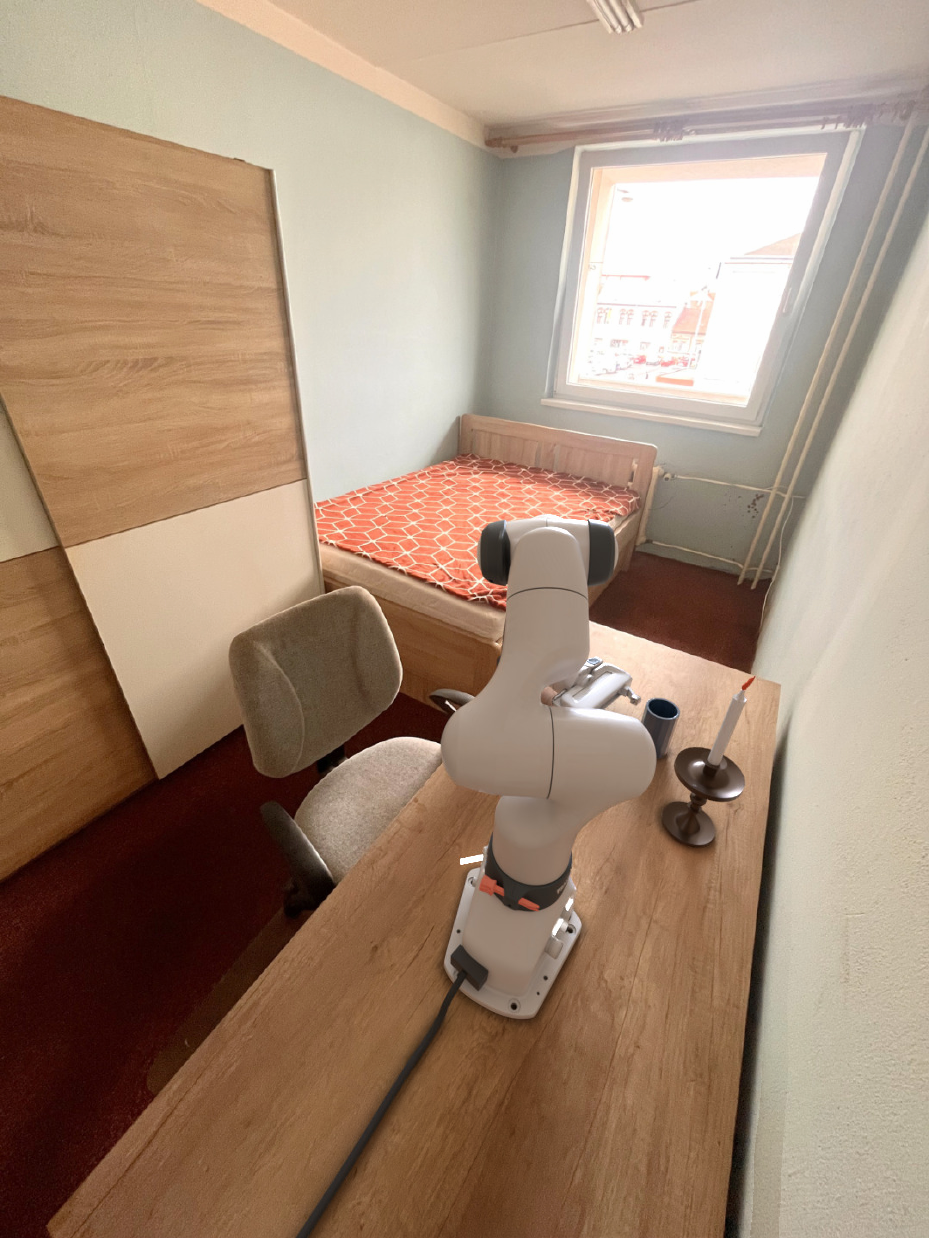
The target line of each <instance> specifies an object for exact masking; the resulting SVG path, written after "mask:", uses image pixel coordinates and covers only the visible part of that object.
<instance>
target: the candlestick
mask: <svg viewBox="0 0 929 1238" xmlns="http://www.w3.org/2000/svg"><path fill="white" fill-rule="evenodd" d="M755 679H756V675H753V677H749V678H748V680H747V681H746V682H744V683H743V684H742V685H741V689H740V691H739V692H738V693H734V694H733V695H732V698H731V700H730V702H729V705H728V708H727V710H726V712H725V715H724V717H723V720H722V721H721V725H720V728H719V729H718V732H717V735H716V737H715V740H714V742H713V744H712V747H711V748H708V747H702V746H692V747H691V746H690V747H687V748H684V749H681V750H680V751H679V752H678V754H677V755H676V756H675V760H674V762H673V763H674V764H673V770H674V773H675V776H676V778H677V779H678V781H679V782H680V783H681V784H682V785H683V787H684V788H685V789H687V790H688V791H689V792H690V794H689V799H690V801H688V802H687V801H678V800H677V801H673V802H670V803H668V804H666V805H665V806H664V807H663V809H662V812H661V814H660V815H661V816H660V820H661V825H662V828H663V829H664V831H665V833H666V834H667V835H668V836H669V837H670V838H671V839H672V840H674V841H676V842H677V843H679V844H680V845H682V846H684V847H686V848H687V847H688V848H691V849H692V848H693V849H701V848H705V847H708V846H709V845H710V844H711V843H712V842H713V840H714V838H715V836H716V828H715V827H716V826H715V824H714V822H713V820H712V819H711V817H710V816H709V815H708V813H706V812H705V811H704V810H703V808H702V807H703V806H705V805H707V802H708V801H711V802H714V803H715V802H716V803H728V802H729V803H730V802H732V801H735V800H736V799H738V798H739V797H740V796H741V795H742V794H743V791H744V789H745V786H746V779H745V776H744V773H743V771H742V770H741V769H740V767H739V766H738V765H737V764H736V763H735V762H734V761H733V760H732V759H731V758H729V757H728V756H727V755H725V752H726V750H727V747H728V745H729V743H730V740H731V738H732V736H733V734H734V732H735V729H736V727H737V725H738V722H739V719H740V717H741V715H742V712H743V710H744V708H745V705H746V704H747V701H748V699H747V697H746V695H745V693H746V690H747V689H748V688H749V687H750V686H751V684H753V682H754V681H755Z"/></svg>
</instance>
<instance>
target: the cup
mask: <svg viewBox="0 0 929 1238" xmlns="http://www.w3.org/2000/svg"><path fill="white" fill-rule="evenodd" d="M680 716H681V710H680V707H678V705H677V704H676V703H674V702H673V701H671V700H669V699H666V698H664V697H652V698H649V699H648V700H647V701H646V702H645V706H644V709H643V713H642V716H641V720H640V722H641V723H642V724H643V725H644V726H645V728H646V729H647V731H648V732H649V734H650V736H651V738H652V740H653V743H654V746H655V750H656V760H657V759H662V758H664V757H666V755H667V754H668V751H669V748H670V745H671V742H672V739H673V736H674V733H675V730H676V728H677V725H678V722H679V719H680Z"/></svg>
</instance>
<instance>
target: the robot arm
mask: <svg viewBox="0 0 929 1238" xmlns="http://www.w3.org/2000/svg"><path fill="white" fill-rule="evenodd" d="M476 546H477V547H476V560H477V565H478V567H479V570H480V572H481V577H483V578H484V579H485V580H486V581H487V582H488V583H490V584H492V585H497V586H501V587H506V586H507V587H506V600H505V601H506V602H505V618H504V624H503V634H502V644H501V653H500V655H499V656H498V657H497V658H496V669H495V671H494V672H493V675H492V676H491V678H490V680H489V681H488V683H487V684H486V685H485V686H484V688H482V690H481V691H480V692H479V693H478V694H477V695H476V696H475V697H474V698H472V699H471V700H470V701H468V702H467V703H464V704H462V706H460V707H459V708H458V709H457V710H455V712H453V714H452V715H451V716H450V718H448V721H447V722H446V724H445V726H444V729H443V731H442V734H441V739H440V757H441V761H442V765H443V767H444V770H445V772H446V774H447V775H448V777H449V778H450V780H451V782H452V783H454V785H456V786H457V787H461V788H465V789H467V790H470V791H474V792H478V793H483V794H486V795H491V796H500V798H499V799H498V802H497V803H496V807H495V810H494V820H493V830H492V832H491V834H490V838H489V840H488V844H486V846H483V848H482V854H478V855H474V856H468V857H465V858H464V857H463V858H460V863H459V864H460V865H464V864H465V865H466V864H469V863H475V862H480V861H481V863H480V867H476V868H472V869H470V870H469V871H468V873H467V875H466V879H465V883H464V886H463V890H462V894H461V896H460V897H461V898H460V900H459V904H458V908H457V912H456V916H455V919H454V923H453V926H452V930H451V933H450V937H449V940H448V944H447V947H446V952H445V955H444V959H443V969H444V971H445V974H446V975H447V976H448V978H449V979H450V981H451V983H453V984H452V985H451V986H450V988H449V990H448V991H447V994H446V995H445V997H444V999H443V1001H442V1003H441V1006H440V1008H439V1011H438V1013H437V1015H436V1017H435V1019H434V1021H433V1022H432V1025H431V1026H430V1028H429V1029H428V1030H427V1033H426V1034H425V1035H424V1037H423V1039H422V1040H421V1041H420V1043H419V1045H418V1046H417V1047H416V1049H415V1050H414V1052H413V1054H412V1055H411V1056H410V1057H409V1059H408V1061H407V1062H406V1063H405V1065H404V1066H403V1068H402V1069H401V1071H400V1073H399V1074H398V1076H397V1078H396V1079H395V1080H394V1082H393V1084H392V1085H391V1087H390V1089H389V1090H388V1092H387V1094H386V1095H385V1097H384V1098H383V1100H382V1102H381V1103H380V1105H379V1106H378V1108H377V1110H376V1111H375V1113H374V1114H373V1116H372V1118H371V1120H370V1122H369V1123H368V1124H367V1126H366V1128H365V1129H364V1131H363V1132H362V1134H361V1135H360V1137H359V1138H358V1140H357V1142H356V1144H355V1145H354V1147H353V1148H352V1150H351V1151H350V1153H349V1154H348V1156H347V1158H346V1159H345V1161H344V1162H343V1164H342V1166H341V1167H340V1169H339V1170H338V1172H337V1174H336V1175H335V1177H334V1178H333V1180H332V1182H331V1183H330V1184H329V1186H328V1188H327V1189H326V1190H325V1192H324V1194H323V1195H322V1197H321V1199H320V1200H319V1201H318V1203H317V1204H316V1206H315V1208H314V1209H313V1211H312V1212H311V1214H310V1215H309V1217H308V1218H307V1220H306V1221H305V1223H304V1224H303V1226H302V1227H301V1229H300V1230H299V1231H298V1233H297V1235H296V1236H295V1238H309V1237H310V1235H311V1233H312V1232H313V1230H314V1229H315V1227H316V1226H317V1225H318V1222H319V1221H320V1219H322V1218H321V1217H323V1215H324V1213H325V1212H326V1210H327V1208H328V1207H329V1205H330V1203H332V1201H333V1199H334V1198H335V1196H336V1194H337V1193H338V1191H339V1189H340V1188H341V1186H342V1185H343V1183H344V1181H345V1180H346V1178H347V1177H348V1176H349V1173H350V1172H351V1170H352V1169H353V1168H354V1166H355V1165H356V1162H357V1161H358V1159H359V1157H360V1156H361V1154H362V1153H363V1151H364V1149H365V1148H366V1146H367V1145H368V1143H369V1141H370V1140H371V1138H372V1137H373V1135H374V1133H375V1131H376V1130H377V1128H378V1127H379V1125H380V1123H381V1122H382V1120H383V1118H384V1117H385V1115H386V1113H387V1111H388V1110H389V1108H390V1107H391V1105H392V1103H393V1101H394V1100H395V1098H396V1096H397V1095H398V1093H399V1091H400V1090H401V1088H402V1087H403V1086H404V1083H405V1082H406V1081H407V1079H408V1077H409V1075H410V1074H411V1072H412V1070H413V1069H414V1067H415V1066H416V1065H417V1063H418V1062H419V1060H420V1059H421V1058H422V1056H423V1054H424V1053H425V1051H426V1050H427V1048H428V1047H429V1046H430V1045H431V1042H432V1041H433V1039H434V1038H435V1036H436V1034H437V1033H438V1031H439V1029H440V1027H441V1025H442V1023H443V1022H444V1020H445V1017H446V1015H447V1012H448V1010H449V1007H450V1005H451V1003H452V1002H453V999H454V998H455V996H456V994H457V992H458V991H460V992H461V993H462V994H464V995H465V996H467V998H469V999H470V1000H472V1001H473V1002H475V1003H477V1004H478V1005H480V1006H481V1007H483V1008H485V1009H487V1010H489V1011H490V1012H493V1013H495V1014H497V1015H500V1016H503V1017H506V1018H510V1019H515V1020H528V1019H533V1018H534V1017H536V1015H537V1014H538V1013H539V1010H540V1008H541V1007H542V1005H543V1003H544V1001H545V999H546V997H547V996H548V994H549V992H550V990H551V988H552V987H553V984H554V983H555V981H556V980H557V978H558V975H559V973H560V971H561V969H562V968H563V966H564V964H565V962H566V960H567V959H568V956H569V955H570V953H571V951H572V949H573V948H574V946H575V944H576V941H577V940H578V938H579V936H580V934H581V933H582V927H583V926H582V925H583V924H582V922H581V919H580V918H579V916H578V914H577V913H576V912H575V910H574V906H575V900H576V896H577V892H578V889H577V887H576V885H575V883H574V881H573V879H572V876H571V873H572V868H573V849H574V845H575V842H576V840H577V837H578V835H579V833H580V832H581V830H583V829H584V828H585V827H586V826H587V825H588V824H589V823H590V822H591V821H593V820H594V819H596V817H598V816H599V815H601V814H602V813H604V812H605V811H607V810H609V809H611V808H612V807H615V806H617V805H619V804H622V803H625V802H628V801H631V800H634V799H637V798H640V797H641V796H642V795H643V794H644V793H645V792H646V791H647V790H648V788H649V787H650V785H651V783H652V781H653V779H654V776H655V774H656V769H657V759H656V750H655V746H654V743H653V740H652V738H651V736H650V734H649V732H648V731H647V729H646V728H645V726H644V725H643V724H642V723H641V720H639V719H638V718H637V717H633V716H630V715H626V714H623V713H619V712H614V711H611V710H605V709H607V708H608V707H609V706H611V705H612V704H613V703H614V702H615V701H616V700H618V699H619V698H620V697H621V696H623V697H624V698H626V697H627V698H628V699H629V700H630V701H629V703H630V704H631V705H633V706H635V707H637V706H638V705H640V704H641V702H642V696H639V695H638V694H636V693H635V691H634V690H633V689H632V687H631V686H632V682H633V677H632V674H630V673H629V672H627V671H626V670H624V669H622V668H621V667H618V666H616V665H614V664H612V663H609V662H604V659H603V658H601V657H599V656H594V657H590V654H591V653H590V652H591V642H590V641H591V639H590V609H589V607H590V604H589V590H588V589H589V588H591V587H596V586H601V585H604V584H606V583H608V581H610V579H611V578H612V577H613V574H614V571H615V569H616V566H617V564H618V561H619V555H620V553H619V543H618V540H617V537H616V536H615V531H614V529H613V527H611V525H609V524H608V522H606V521H601V520H597V519H590V518H587V520H580V519H569V518H561V517H559V516H557V515H554V514H549V513H548V514H547V513H546V514H539V515H536V516H533V517H530V518H523V519H515V520H509V521H508V520H507V519H501V520H497V521H493V522H490V523H488V524H487V525H486V526H485V527H484V528H483V529H482V530H481V533H480V537H479V539H478V542H477V545H476ZM589 657H590V658H589ZM547 687H549V688H551V690H552V691H553V692H555V693H557V694H556V695H553V697H552V701H551V704H552V705H548V704H544V703H543V702H542V692H543V691H544V690H545V689H546V688H547ZM569 931H571V933H570V932H569ZM512 1006H515V1007H516V1009H513V1008H512Z"/></svg>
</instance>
